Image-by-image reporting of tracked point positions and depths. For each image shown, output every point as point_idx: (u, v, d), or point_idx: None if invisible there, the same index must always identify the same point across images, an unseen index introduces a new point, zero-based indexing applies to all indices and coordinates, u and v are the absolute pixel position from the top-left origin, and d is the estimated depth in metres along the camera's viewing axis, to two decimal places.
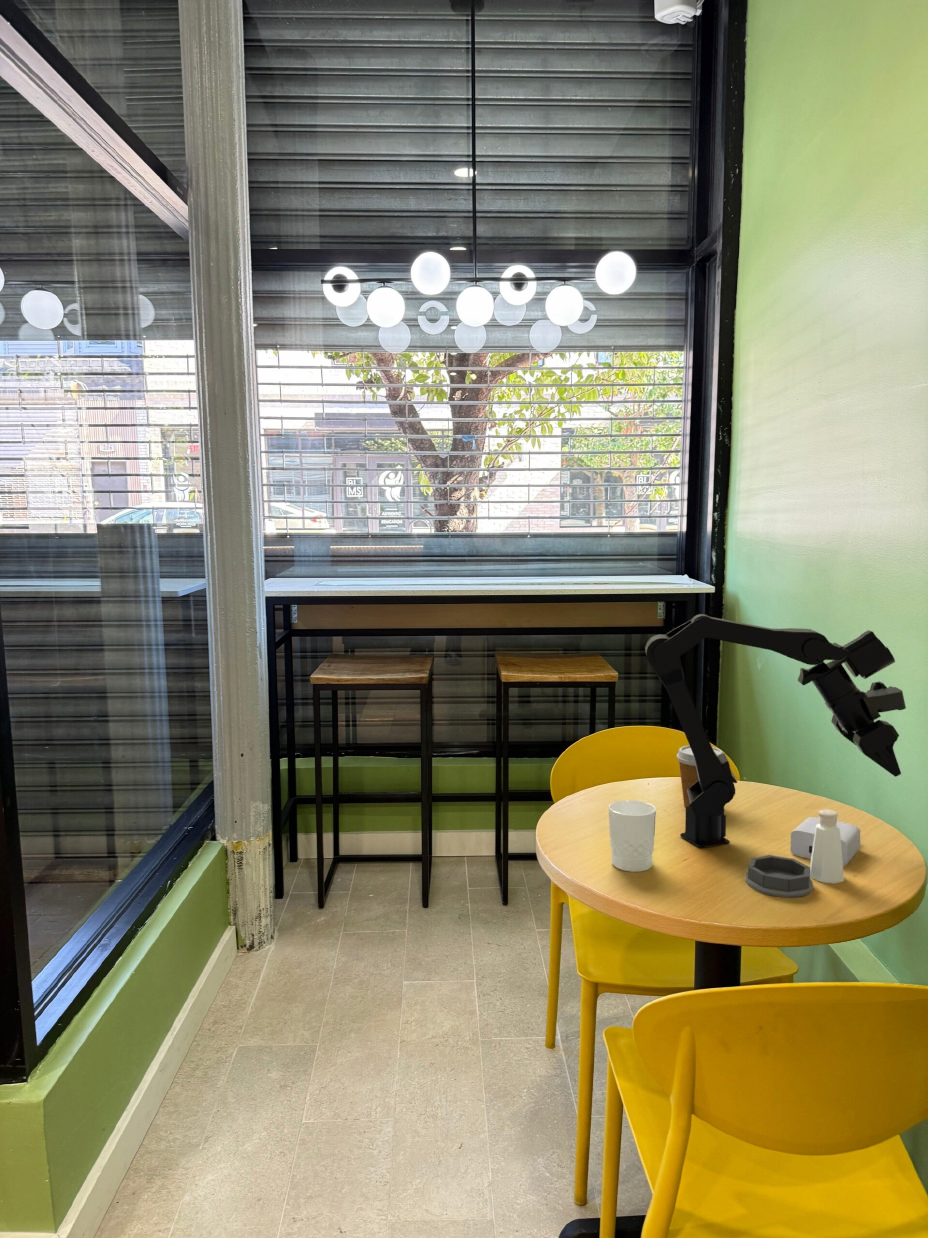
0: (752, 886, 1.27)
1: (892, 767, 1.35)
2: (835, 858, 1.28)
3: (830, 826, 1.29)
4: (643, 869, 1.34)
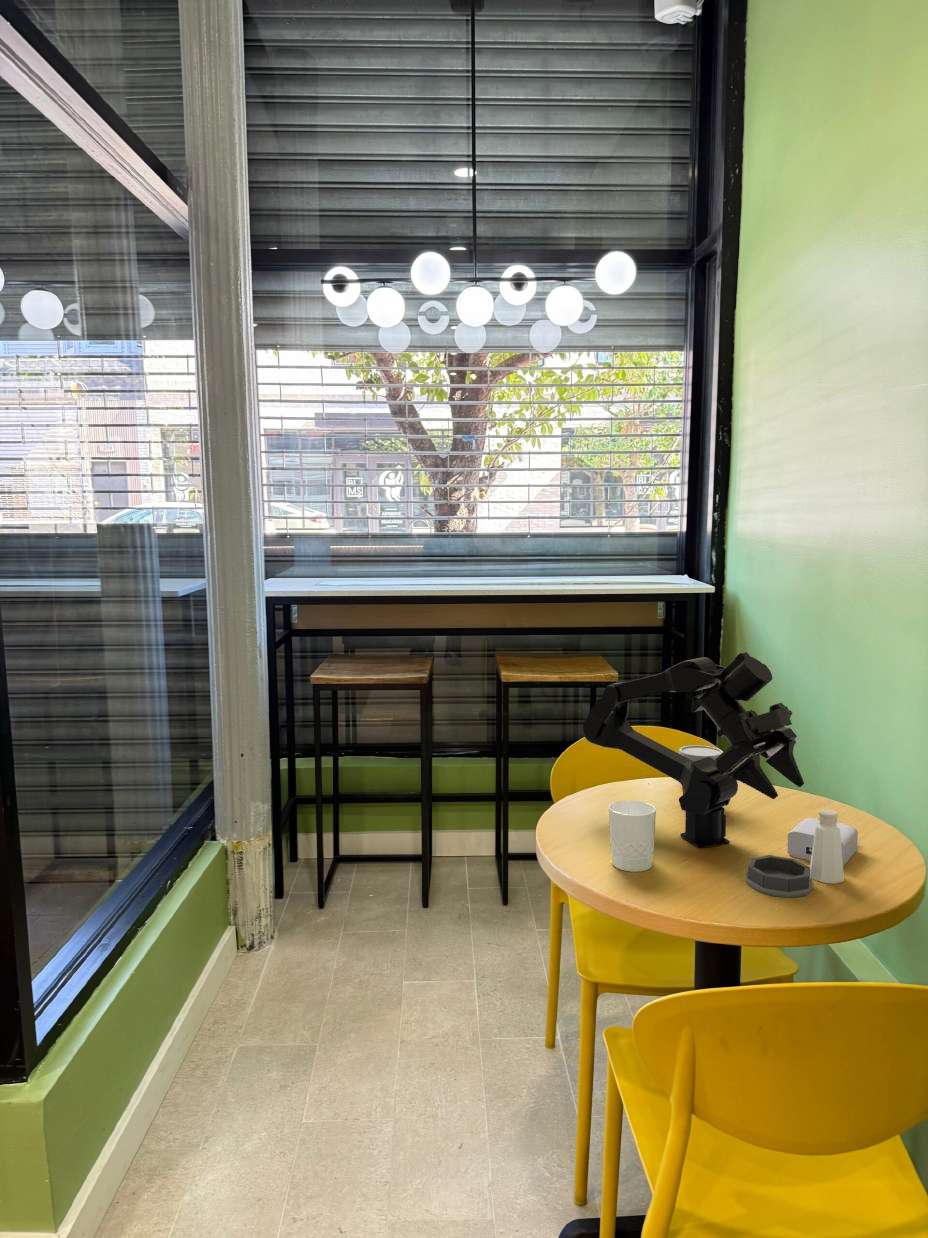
0: (752, 886, 1.27)
1: (765, 789, 1.32)
2: (835, 858, 1.28)
3: (830, 826, 1.29)
4: (643, 869, 1.34)
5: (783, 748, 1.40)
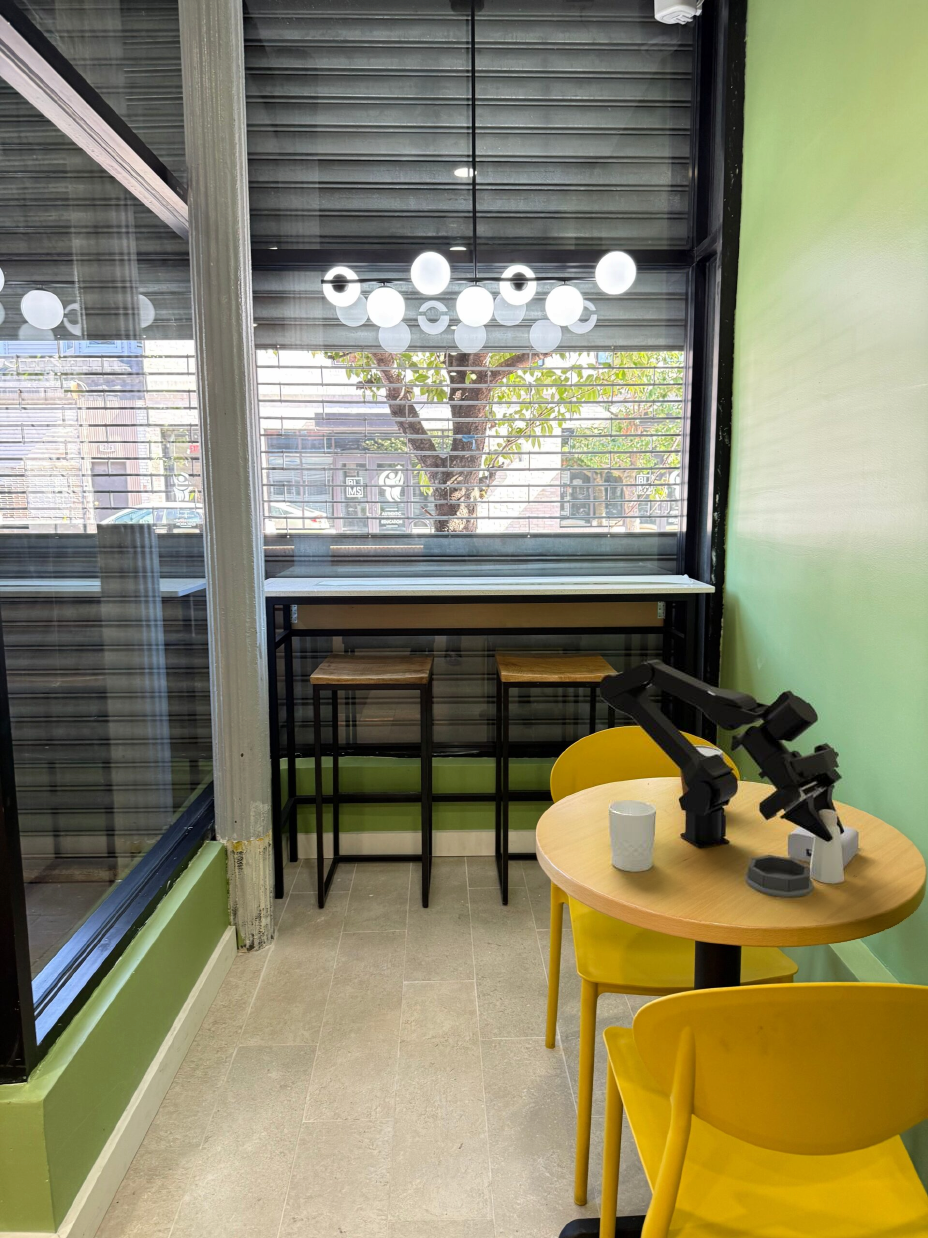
0: (752, 886, 1.27)
1: (819, 831, 1.28)
2: (835, 858, 1.28)
3: (830, 825, 1.29)
4: (643, 869, 1.34)
5: (821, 793, 1.33)
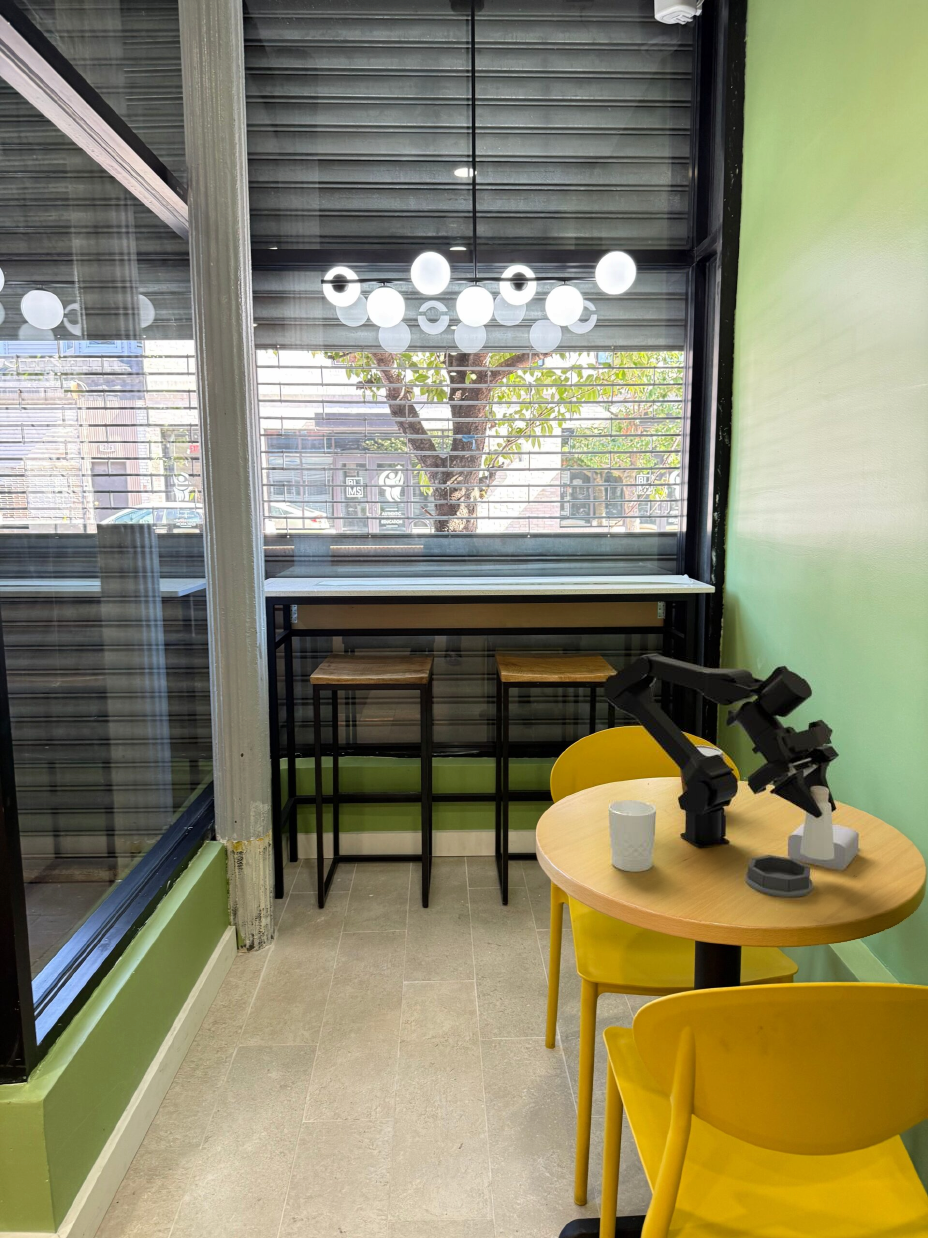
0: (752, 886, 1.27)
1: (809, 807, 1.27)
2: (825, 835, 1.27)
3: (821, 802, 1.28)
4: (643, 869, 1.34)
5: (815, 770, 1.32)
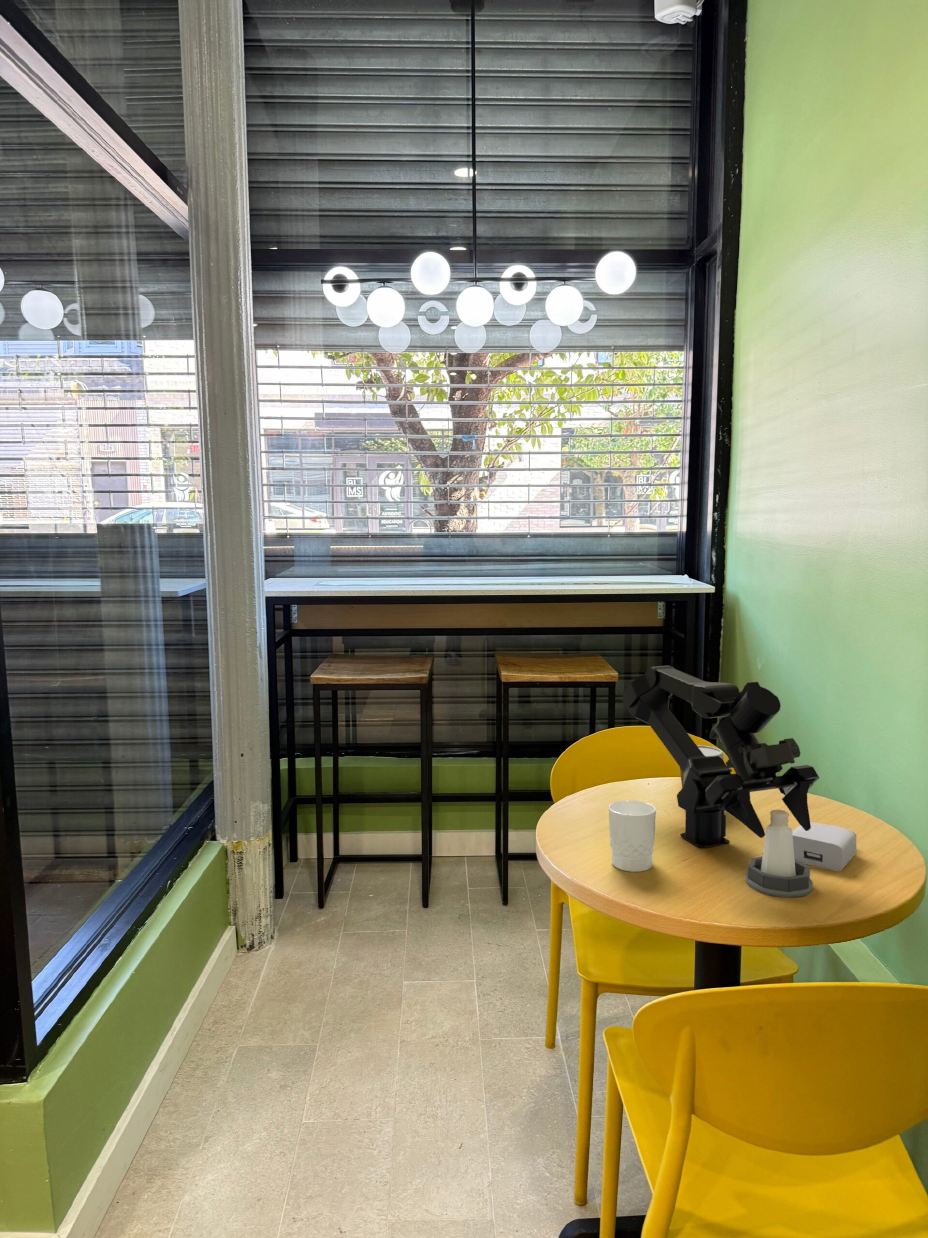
0: (752, 886, 1.27)
1: (753, 826, 1.26)
2: (780, 859, 1.26)
3: (778, 826, 1.27)
4: (643, 869, 1.34)
5: (795, 787, 1.31)
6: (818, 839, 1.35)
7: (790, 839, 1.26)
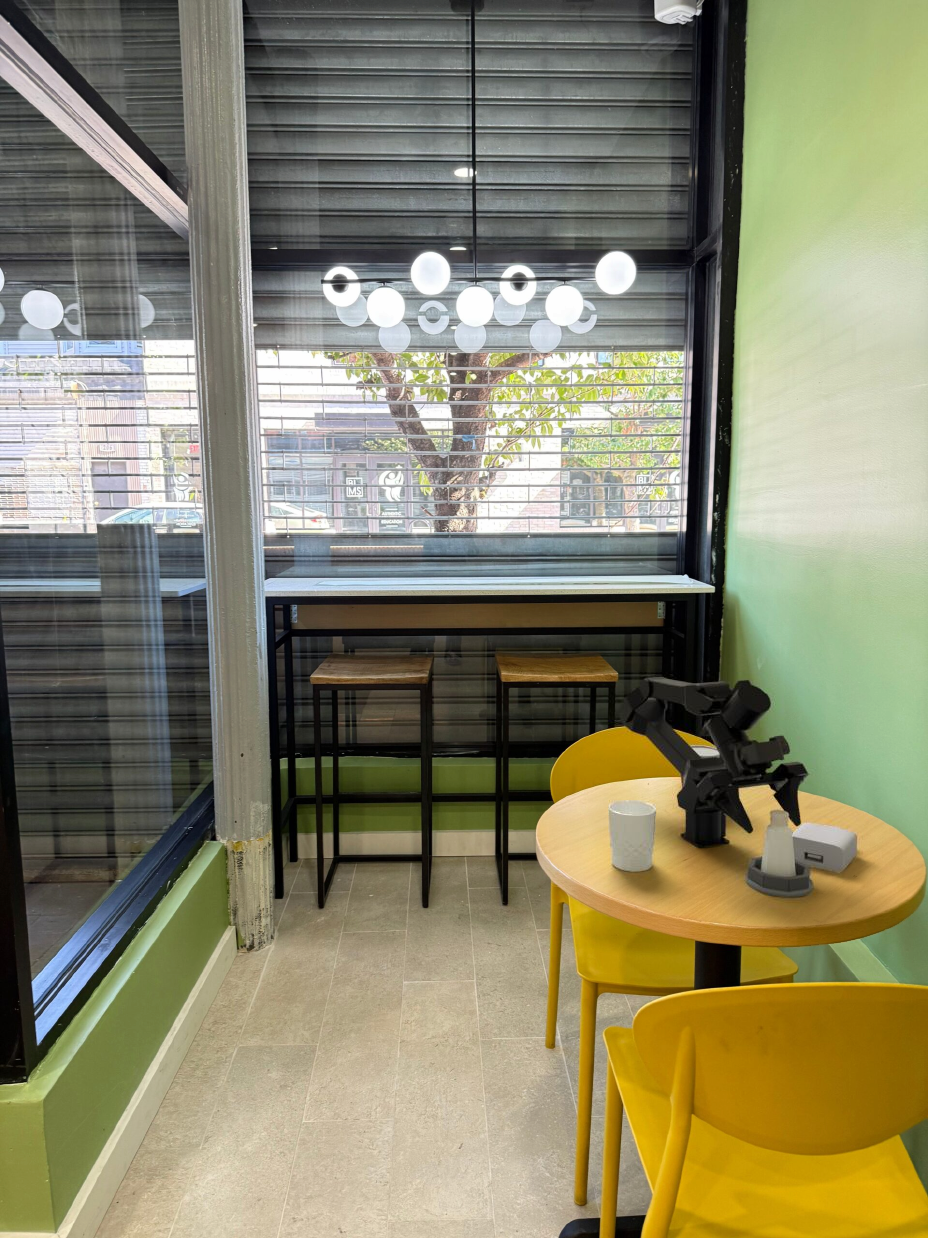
0: (752, 886, 1.27)
1: (741, 822, 1.28)
2: (780, 859, 1.26)
3: (778, 826, 1.27)
4: (643, 869, 1.34)
5: (786, 783, 1.33)
6: (819, 840, 1.34)
7: (790, 839, 1.26)
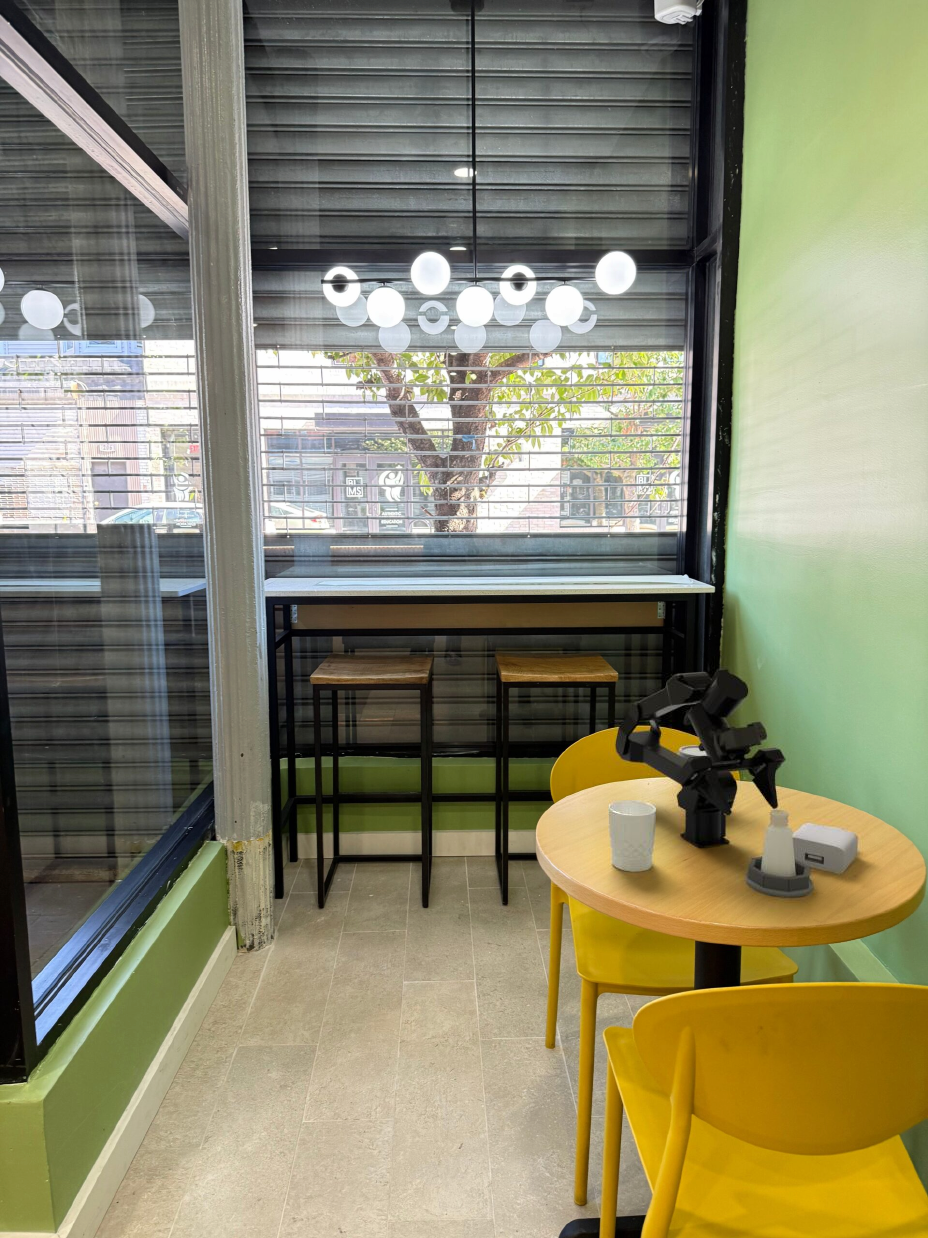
0: (752, 886, 1.27)
1: (720, 805, 1.33)
2: (780, 859, 1.26)
3: (778, 826, 1.27)
4: (643, 869, 1.34)
5: (764, 768, 1.38)
6: (819, 841, 1.34)
7: (790, 839, 1.26)
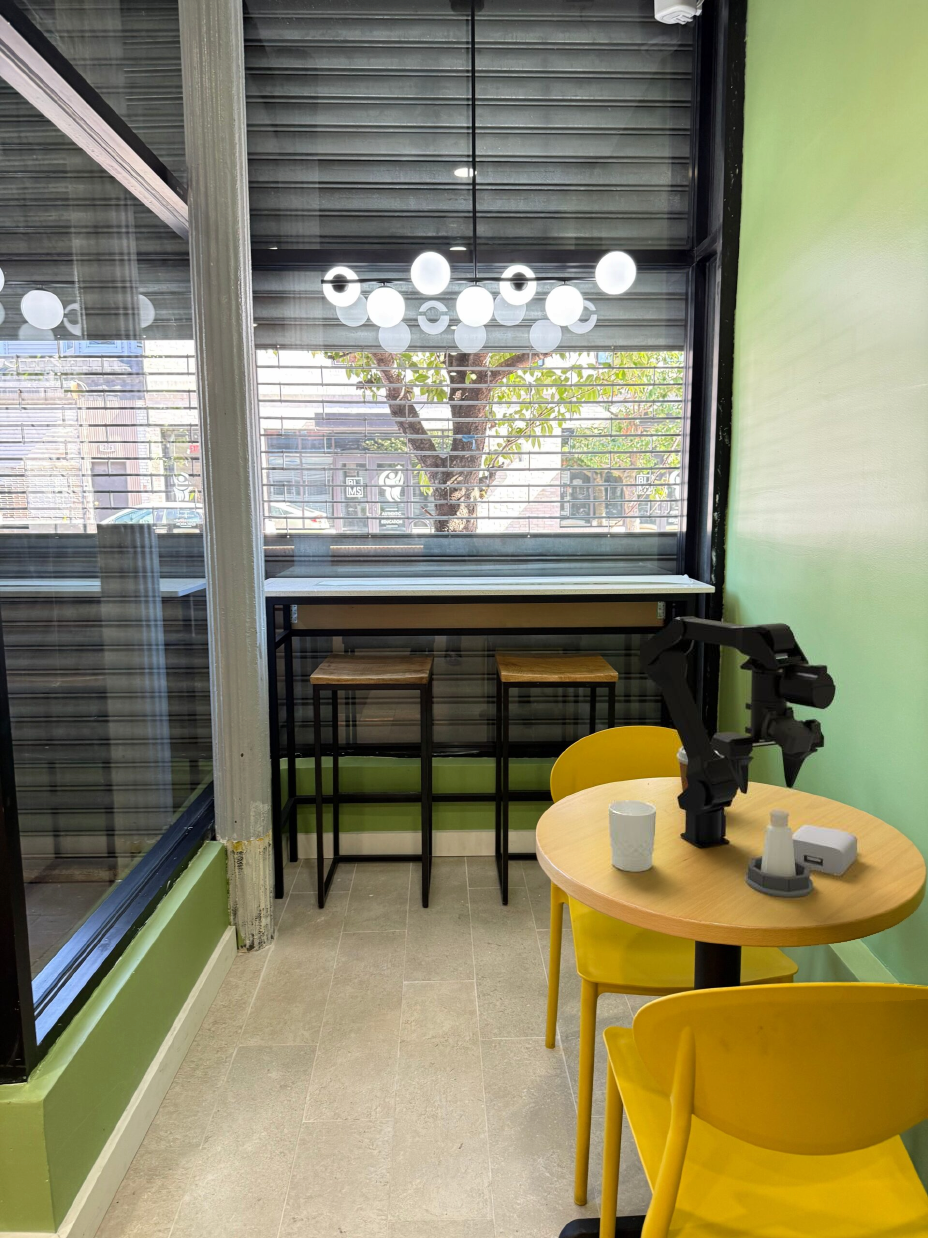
0: (752, 886, 1.27)
1: (739, 782, 1.33)
2: (780, 859, 1.26)
3: (778, 826, 1.27)
4: (643, 869, 1.34)
5: None
6: (818, 843, 1.33)
7: (790, 839, 1.26)
